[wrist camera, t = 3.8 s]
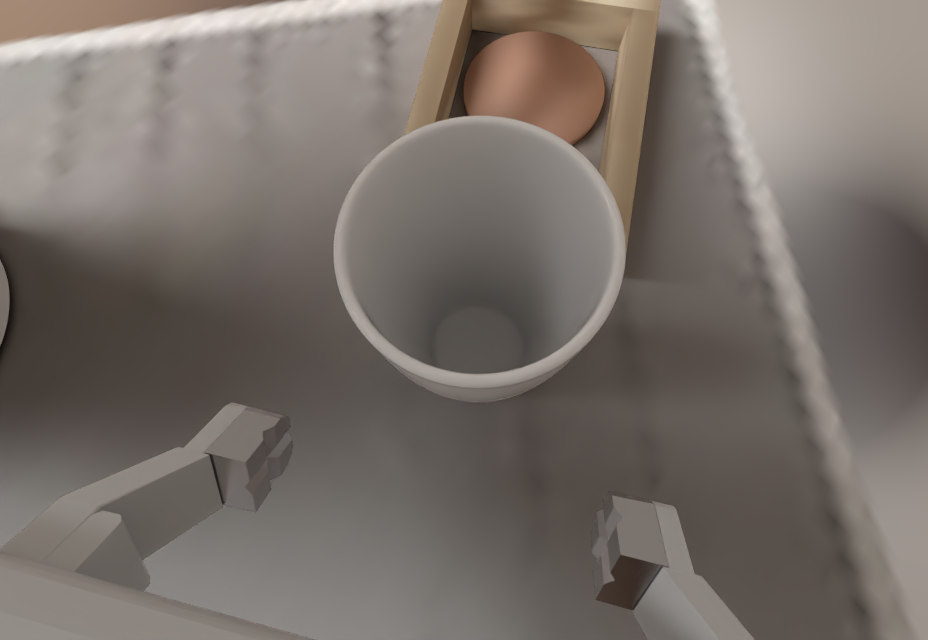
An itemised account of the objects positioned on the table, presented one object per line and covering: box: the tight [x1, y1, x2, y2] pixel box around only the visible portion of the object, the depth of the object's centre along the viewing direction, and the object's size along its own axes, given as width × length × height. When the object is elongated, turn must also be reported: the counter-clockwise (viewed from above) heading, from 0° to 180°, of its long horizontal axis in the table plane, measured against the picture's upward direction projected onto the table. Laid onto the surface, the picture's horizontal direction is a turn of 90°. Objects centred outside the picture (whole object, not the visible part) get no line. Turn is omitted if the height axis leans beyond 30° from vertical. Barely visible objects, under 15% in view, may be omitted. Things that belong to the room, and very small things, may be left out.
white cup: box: [333, 116, 626, 402], centre depth 17 cm, size 7×7×15 cm
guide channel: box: [404, 0, 661, 253], centre depth 26 cm, size 13×18×3 cm
